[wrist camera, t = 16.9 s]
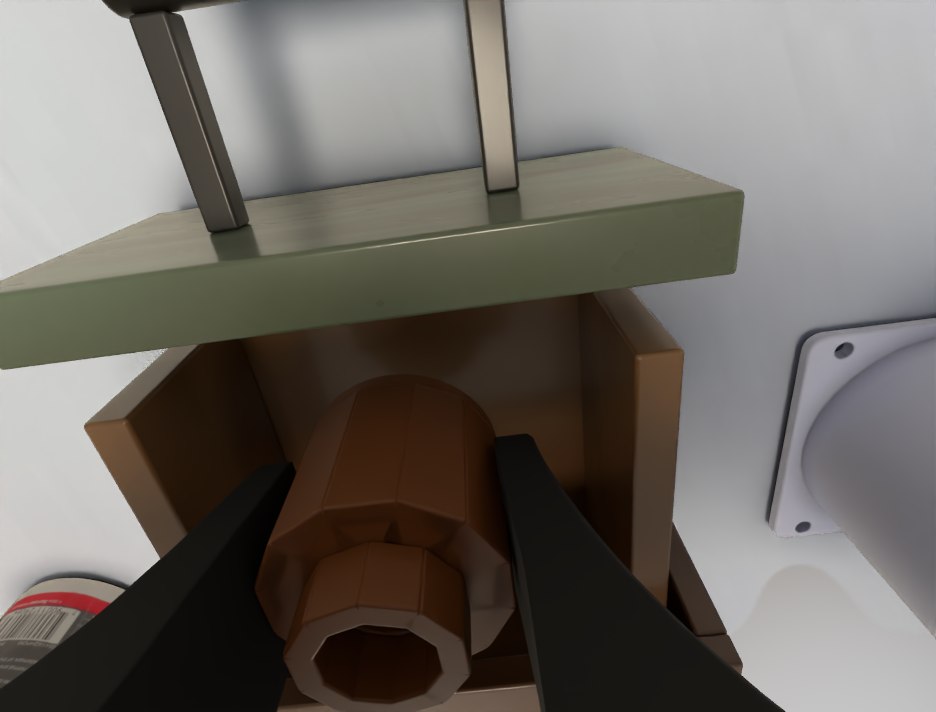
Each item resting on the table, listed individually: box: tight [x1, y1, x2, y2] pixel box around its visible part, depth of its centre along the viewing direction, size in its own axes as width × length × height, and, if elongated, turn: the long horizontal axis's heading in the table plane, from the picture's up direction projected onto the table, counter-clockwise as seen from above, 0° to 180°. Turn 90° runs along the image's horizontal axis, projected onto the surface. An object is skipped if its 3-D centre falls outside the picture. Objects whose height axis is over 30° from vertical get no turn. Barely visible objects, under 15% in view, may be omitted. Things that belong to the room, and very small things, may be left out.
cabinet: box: [277, 522, 743, 712], centre depth 17 cm, size 13×12×7 cm
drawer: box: [0, 0, 744, 678], centre depth 11 cm, size 17×11×6 cm, turn 8°
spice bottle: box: [254, 374, 517, 712], centre depth 9 cm, size 4×4×4 cm
